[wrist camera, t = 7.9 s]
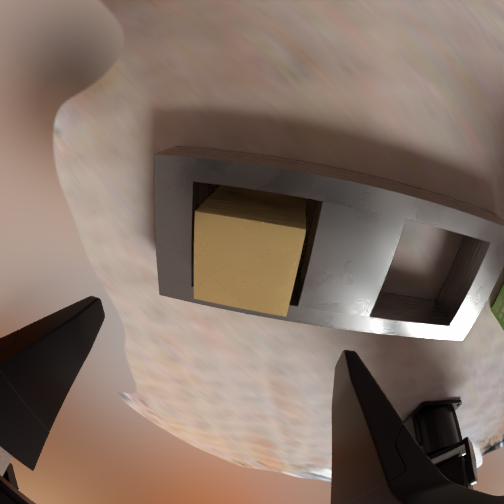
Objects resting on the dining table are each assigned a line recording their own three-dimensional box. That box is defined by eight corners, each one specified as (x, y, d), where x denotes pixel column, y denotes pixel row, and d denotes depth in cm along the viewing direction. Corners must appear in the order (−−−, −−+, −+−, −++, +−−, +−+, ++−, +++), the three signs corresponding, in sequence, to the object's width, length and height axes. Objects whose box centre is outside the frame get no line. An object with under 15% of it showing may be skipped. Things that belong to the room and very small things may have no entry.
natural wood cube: (305, 196, 17) (306, 229, 12) (290, 267, 19) (286, 316, 15) (222, 183, 17) (194, 211, 13) (217, 254, 20) (193, 298, 15)
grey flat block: (495, 214, 14) (518, 231, 12) (450, 315, 19) (462, 340, 16) (176, 146, 16) (154, 154, 14) (176, 271, 21) (159, 294, 18)
